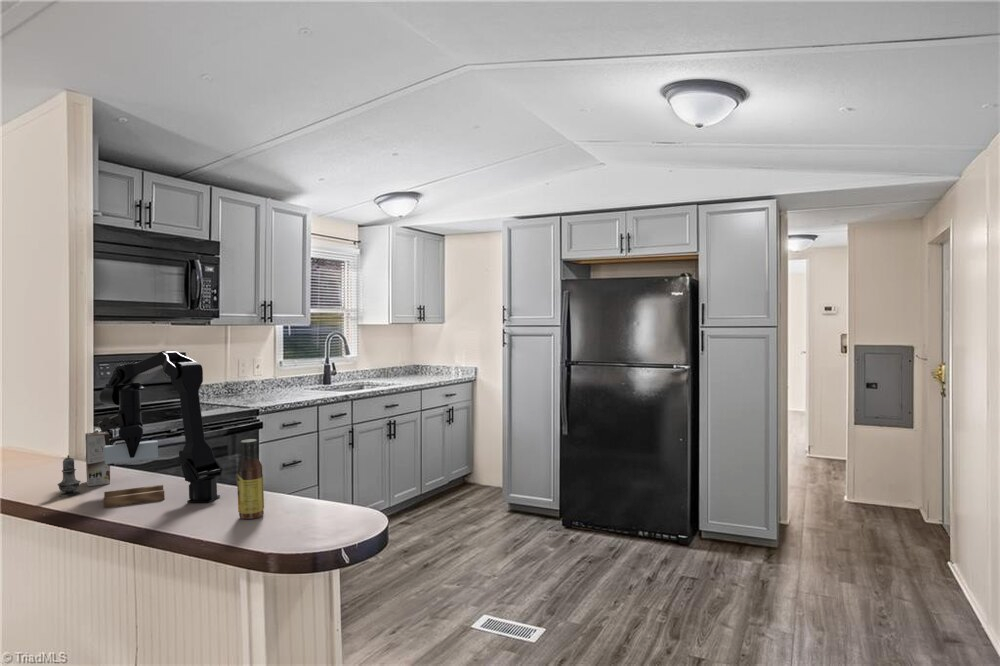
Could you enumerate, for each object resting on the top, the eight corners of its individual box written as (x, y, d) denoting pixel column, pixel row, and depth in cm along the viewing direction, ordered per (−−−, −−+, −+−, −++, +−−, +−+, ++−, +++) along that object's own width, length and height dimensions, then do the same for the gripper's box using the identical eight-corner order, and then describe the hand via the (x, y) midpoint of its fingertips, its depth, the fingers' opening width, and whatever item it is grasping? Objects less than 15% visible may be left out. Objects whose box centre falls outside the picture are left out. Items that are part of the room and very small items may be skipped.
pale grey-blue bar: (157, 456, 203) (157, 440, 203) (158, 458, 199) (157, 441, 199) (105, 462, 196) (105, 445, 196) (105, 464, 192) (104, 447, 192)
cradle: (163, 492, 194) (163, 484, 194) (164, 499, 186) (164, 490, 186) (104, 500, 187) (104, 491, 186) (103, 507, 179) (103, 498, 179)
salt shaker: (69, 497, 191) (68, 457, 191) (52, 496, 192) (51, 456, 192) (85, 492, 197) (84, 453, 197) (69, 491, 198) (68, 452, 198)
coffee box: (111, 483, 208) (109, 433, 208) (87, 487, 204) (85, 436, 204) (109, 478, 215) (107, 430, 215) (86, 481, 212) (84, 432, 212)
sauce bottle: (244, 513, 170) (242, 437, 170) (268, 513, 170) (266, 437, 169) (233, 520, 163) (231, 442, 163) (258, 520, 163) (256, 442, 163)
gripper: (100, 405, 202) (102, 455, 202) (97, 410, 185) (99, 465, 185) (141, 402, 207) (143, 451, 207) (141, 407, 191) (143, 459, 191)
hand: (132, 456), depth 197 cm, fingers closed on pale grey-blue bar, 4 cm apart
